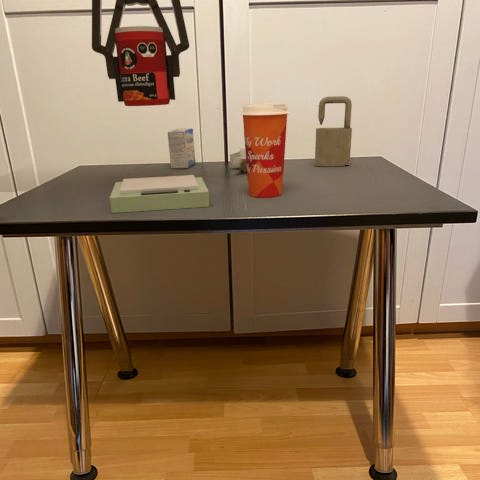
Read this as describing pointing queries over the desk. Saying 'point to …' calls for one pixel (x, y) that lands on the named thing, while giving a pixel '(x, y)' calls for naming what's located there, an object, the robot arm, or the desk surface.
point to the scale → (159, 194)
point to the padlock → (333, 137)
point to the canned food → (142, 65)
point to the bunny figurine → (239, 159)
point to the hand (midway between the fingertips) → (147, 100)
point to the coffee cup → (265, 147)
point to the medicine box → (181, 148)
